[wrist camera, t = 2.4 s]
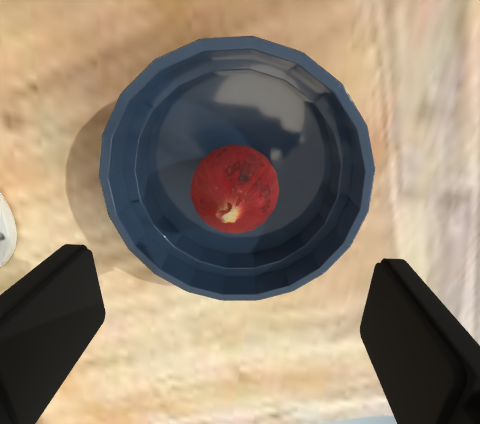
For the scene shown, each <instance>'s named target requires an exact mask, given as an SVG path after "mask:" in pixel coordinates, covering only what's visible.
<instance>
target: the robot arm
mask: <svg viewBox="0 0 480 424" xmlns="http://www.w3.org/2000/svg"><path fill="white" fill-rule="evenodd" d="M16 242H17V229H16V225H15V220H14V217H13V214H12V212H11V210H10V207H9V205H8V204H7V202H6V200H5V199H4V197H3V195H2V194H1V192H0V267H2V266H3V265H4V264H5V263H6V262H7V261H8V260H9V259H10V258H11V256H12V254H13V252H14V250H15V246H16ZM104 319H105V308H104V304H103V299H102V295H101V290H100V286H99V281H98V277H97V272H96V268H95V264H94V259H93V255H92V252H91V250H88V249H87V247H86V246H84V245H73V244H65V245H64V246H62V247H61V248H59V249H58V250H57V251H56V252H54V253H53V254H52V255H51V256H49V257H48V258H47V259H46V260H44V261H43V262H42V263H40V264H39V265H38V266H37V267H35V268H34V269H33V270H32V271H30V272H29V273H28V274H27V275H25V276H24V277H23V278H21V279H20V280H19V281H18V282H16V283H15V284H14V285H13V286H11V287H10V288H9V289H8V290H6V291H5V292H4V293H2V294H1V295H0V424H35V423H36V422H37V420H38V419H39V417H40V416H41V415H42V413H43V412H44V410H45V409H46V407H47V406H48V404H49V403H50V401H51V400H52V398H53V397H54V395H55V394H56V392H57V391H58V389H59V388H60V386H61V385H62V383H63V382H64V380H65V379H66V377H67V376H68V374H69V373H70V371H71V370H72V368H73V367H74V365H75V364H76V362H77V361H78V359H79V358H80V356H81V355H82V353H83V352H84V350H85V349H86V347H87V346H88V344H89V343H90V341H91V340H92V338H93V337H94V335H95V334H96V333H97V331H98V330H99V328H100V327H101V325H102V324H103V322H104ZM360 334H361V338H362V341H363V343H364V345H365V348H366V350H367V353H368V355H369V357H370V360H371V362H372V364H373V367H374V369H375V372H376V374H377V376H378V379H379V381H380V384H381V386H382V388H383V391H384V393H385V395H386V398H387V400H388V403H389V405H390V407H391V410H392V412H393V414H394V417H395V419H396V422H397V424H480V346H479V344H478V343H477V342H476V341H475V340H474V339H473V338H472V336H471V335H470V334H469V333H468V332H467V331H466V330H465V328H464V327H463V326H462V325H461V324H460V323H459V322H458V320H457V319H456V318H455V317H454V316H453V315H452V314H451V312H450V311H449V310H448V309H447V308H446V307H445V306H444V304H443V303H442V302H441V301H440V300H439V299H438V297H437V296H436V295H435V294H434V293H433V292H432V291H431V289H430V288H429V287H428V286H427V285H426V284H425V283H424V281H423V280H422V279H421V278H420V277H419V276H418V275H417V273H416V272H415V271H414V270H413V269H412V268H411V267H410V265H409V264H408V263H407V262H406V261H405V260H403V259H383V260H382V261H381V263H377V264H376V265H375V268H374V272H373V276H372V280H371V284H370V289H369V293H368V297H367V301H366V305H365V309H364V313H363V317H362V321H361V325H360Z"/></svg>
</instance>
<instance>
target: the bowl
mask: <svg viewBox="0 0 480 424" xmlns="http://www.w3.org/2000/svg"><path fill="white" fill-rule="evenodd" d="M230 144H234V145H243V146H250V147H252V148H254V149H255V150H257V151H258V152H260V153H262V154H263V155H265V156H266V157H267V158H268V160H269V161H270V163H271V165H272V166H273V168H274V170H275V171H276V173H277V178H278V185H279V195H278V199H277V202H276V206H275V209H274V210H273V211H272V213H271V214H270V216H269V217H268V218H267V220H266V221H265V223H263V224H262V225H260V226H258V227H257V228H255V229H254V230H252V231H248V232H243V233H238V234H234V233H227V232H221V231H219V230H217V229H215V228H213V227H211V226H209V225H208V224H207V223H206V222H205V221H204V220H203V219H202V218H201V217H200V216H199V215H198V214H197V212H196V210H195V207H194V205H193V202H192V200H191V197H190V192H191V182H192V177H193V175H194V173H195V171H196V169H197V167H198V165H199V163H200V161H201V160H202V159H203V158H205V157H206V156H207V155H208V154H209V153H210V152H212V151H213V150H215V149H218V148H221V147H224V146H227V145H230ZM374 173H375V165H374V159H373V154H372V149H371V144H370V138H369V133H368V128H367V125H366V123H365V121H364V119H363V118H362V116H361V114H360V113H359V111H358V109H357V108H356V106H355V104H354V102H353V101H352V99H351V97H350V96H349V94H348V92H347V91H346V89H345V87H344V86H343V84H342V83H341V82H340V81H338V80H337V79H336V78H335V77H333V76H332V75H331V74H330V73H328V72H327V71H326V70H325V69H323V68H322V67H321V66H320V65H318V64H317V63H316V62H315V61H313V60H312V59H311V58H310V57H308V56H307V55H306V54H305V53H303V52H301V51H298V50H295V49H292V48H289V47H286V46H283V45H280V44H277V43H273V42H270V41H267V40H264V39H261V38H258V37H255V36H253V37H252V36H240V37H222V38H203V39H199V40H196V41H194V42H192V43H190V44H188V45H185V46H183V47H181V48H179V49H176V50H174V51H172V52H170V53H167V54H165V55H163V56H161V57H159V58H156V59H155V60H153V61H152V62H151V63H150V64H149V66H148V67H147V68H146V69H145V70H144V71H143V72H142V73H141V74H140V75H139V76H138V77H137V78H136V79H135V80H134V81H133V82H132V83H131V84H130V85H129V86H128V87H127V88H126V89H125V90H124V91H123V92H122V94H120V97H119V99H118V101H117V103H116V105H115V108H114V110H113V112H112V114H111V117H110V119H109V121H108V123H107V125H106V128H105V130H104V132H103V135H102V145H101V158H100V170H99V178H100V182H101V186H102V191H103V195H104V199H105V203H106V207H107V211H108V215H109V217H110V219H111V220H112V222H113V224H114V225H115V227H116V229H117V230H118V232H119V234H120V236H121V237H122V239H123V241H124V242H125V244H126V246H127V247H128V249H129V250H130V251H131V252H132V253H133V254H134V255H135V256H136V257H137V258H138V259H139V260H141V261H142V262H143V263H144V264H145V265H146V266H147V267H148V268H149V269H150V270H151V271H152V272H153V273H154V274H156V275H157V276H159V277H161V278H163V279H165V280H167V281H168V282H170V283H172V284H174V285H176V286H178V287H179V288H181V289H183V290H185V291H187V292H190V293H194V294H198V295H202V296H206V297H210V298H214V299H218V300H223V301H251V300H261V299H265V298H269V297H273V296H277V295H281V294H284V293H288V292H292V291H294V290H296V289H298V288H299V287H301V286H303V285H305V284H306V283H308V282H310V281H312V280H313V279H315V278H317V277H319V276H320V275H322V274H324V273H325V272H326V271H327V270H328V269H329V268H330V267H331V266H332V265H333V264H334V263H335V262H336V261H337V260H338V259H339V258H340V257H341V256H342V255H343V254H344V252H345V251H346V250H347V249H348V248H349V247H350V246H351V245H352V243H353V241H354V239H355V237H356V235H357V233H358V231H359V229H360V227H361V225H362V223H363V221H364V219H365V217H366V215H367V213H368V210H369V206H370V199H371V193H372V186H373V180H374Z"/></svg>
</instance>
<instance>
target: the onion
mask: <svg viewBox="0 0 480 424" xmlns="http://www.w3.org/2000/svg"><path fill="white" fill-rule="evenodd" d="M278 195H279V185H278V178H277V173H276V171H275V170H274V168H273V166H272V165H271V163H270V161H269V160H268V158H267V157H266V156H265V155H263V154H262V153H260V152H258V151H257V150H255V149H254V148H252V147H250V146H243V145H234V144H230V145H227V146H224V147H221V148H218V149H215V150H213V151H212V152H210V153H209V154H208V155H207V156H206V157H205V158H203V159H202V160H201V161H200V163H199V165H198V167H197V169H196V171H195V173H194V175H193V177H192V182H191V192H190V197H191V200H192V202H193V205H194V207H195V210H196V212H197V214H198V215H199V216H200V217H201V218H202V219H203V220H204V221H205V222H206V223H207V224H208V225H209V226H211V227H213V228H215V229H217V230H219V231H221V232H227V233H234V234H238V233H243V232H248V231H252V230H254V229H255V228H257V227H258V226H260V225H262V224H263V223H265V221H266V220H267V218H268V217H269V216H270V214H271V213H272V211H273V210H274V209H275V206H276V202H277V199H278Z"/></svg>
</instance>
